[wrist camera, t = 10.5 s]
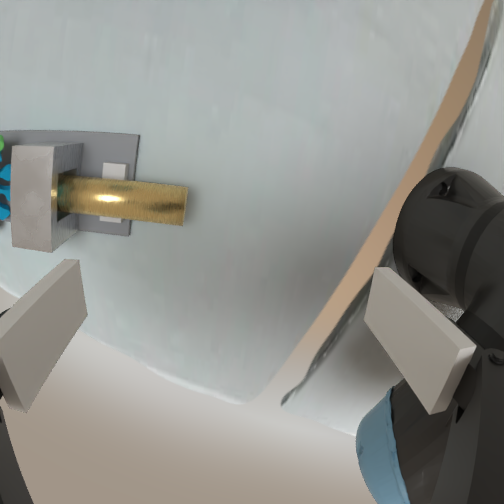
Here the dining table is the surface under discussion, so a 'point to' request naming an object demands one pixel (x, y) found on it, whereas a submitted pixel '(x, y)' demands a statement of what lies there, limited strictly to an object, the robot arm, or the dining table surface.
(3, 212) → the gear
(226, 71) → the dining table surface
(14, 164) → the bearing block
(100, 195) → the shaft
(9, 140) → the housing
